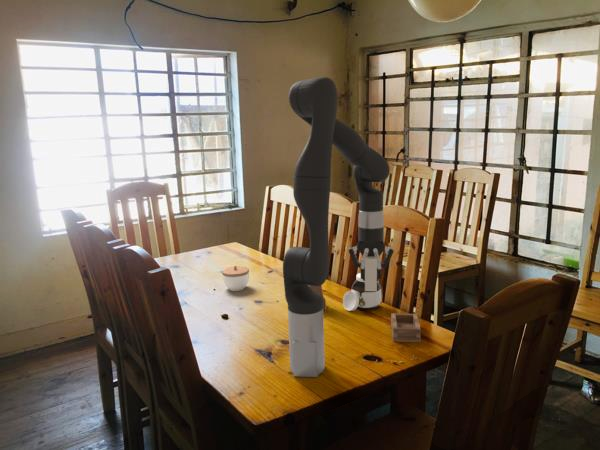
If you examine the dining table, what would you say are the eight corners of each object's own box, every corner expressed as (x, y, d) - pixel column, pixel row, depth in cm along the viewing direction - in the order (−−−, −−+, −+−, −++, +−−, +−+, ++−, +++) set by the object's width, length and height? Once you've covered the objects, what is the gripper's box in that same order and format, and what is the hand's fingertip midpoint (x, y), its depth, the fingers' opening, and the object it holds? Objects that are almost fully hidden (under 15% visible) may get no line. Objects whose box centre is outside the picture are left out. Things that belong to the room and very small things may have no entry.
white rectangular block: (376, 291, 145) (376, 258, 143) (364, 291, 145) (364, 258, 143) (376, 282, 152) (376, 251, 150) (365, 282, 153) (365, 251, 151)
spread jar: (383, 305, 172) (383, 274, 170) (371, 316, 163) (371, 283, 160) (352, 300, 178) (352, 269, 176) (339, 310, 169) (338, 278, 166)
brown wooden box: (420, 342, 143) (421, 329, 142) (393, 341, 144) (393, 328, 143) (416, 325, 155) (416, 313, 154) (391, 324, 156) (391, 313, 155)
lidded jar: (253, 290, 192) (251, 267, 190) (226, 294, 188) (225, 271, 186) (246, 282, 202) (244, 260, 200) (220, 286, 198) (218, 264, 196)
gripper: (346, 227, 142) (347, 283, 146) (395, 227, 140) (395, 284, 144) (347, 222, 149) (348, 276, 153) (394, 222, 147) (393, 276, 151)
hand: (370, 279), depth 148 cm, fingers closed on white rectangular block, 3 cm apart
